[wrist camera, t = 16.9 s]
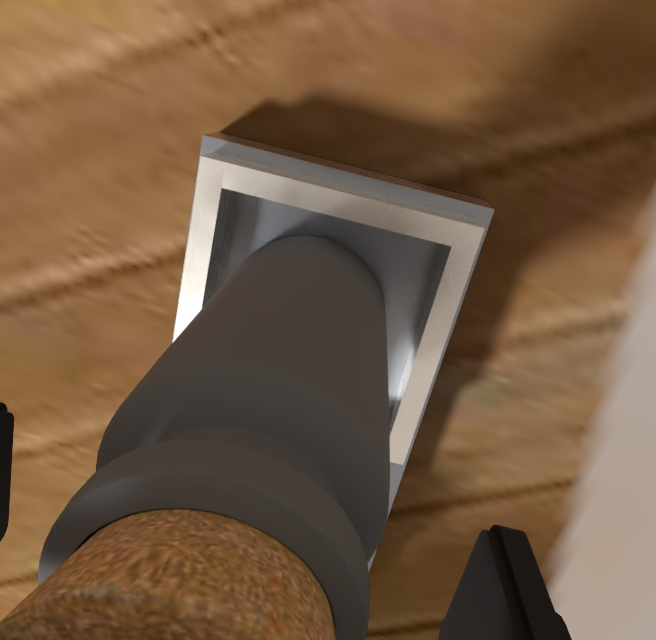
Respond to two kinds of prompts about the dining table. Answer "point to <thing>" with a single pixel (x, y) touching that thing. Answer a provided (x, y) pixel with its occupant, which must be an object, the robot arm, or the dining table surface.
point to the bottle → (236, 471)
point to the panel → (351, 232)
